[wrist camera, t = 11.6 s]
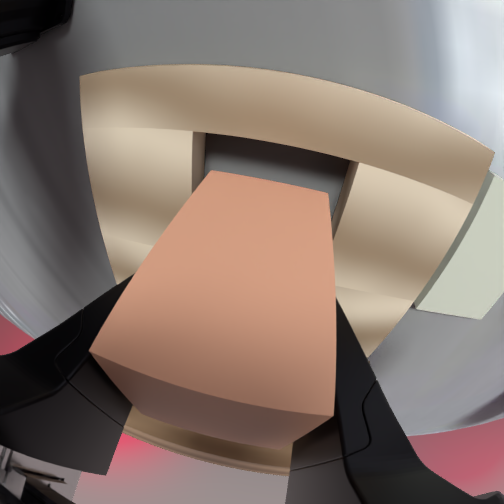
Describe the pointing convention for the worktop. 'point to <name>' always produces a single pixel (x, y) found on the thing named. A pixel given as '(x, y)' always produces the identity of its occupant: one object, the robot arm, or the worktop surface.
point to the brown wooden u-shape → (208, 446)
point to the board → (293, 134)
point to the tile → (471, 260)
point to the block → (232, 316)
